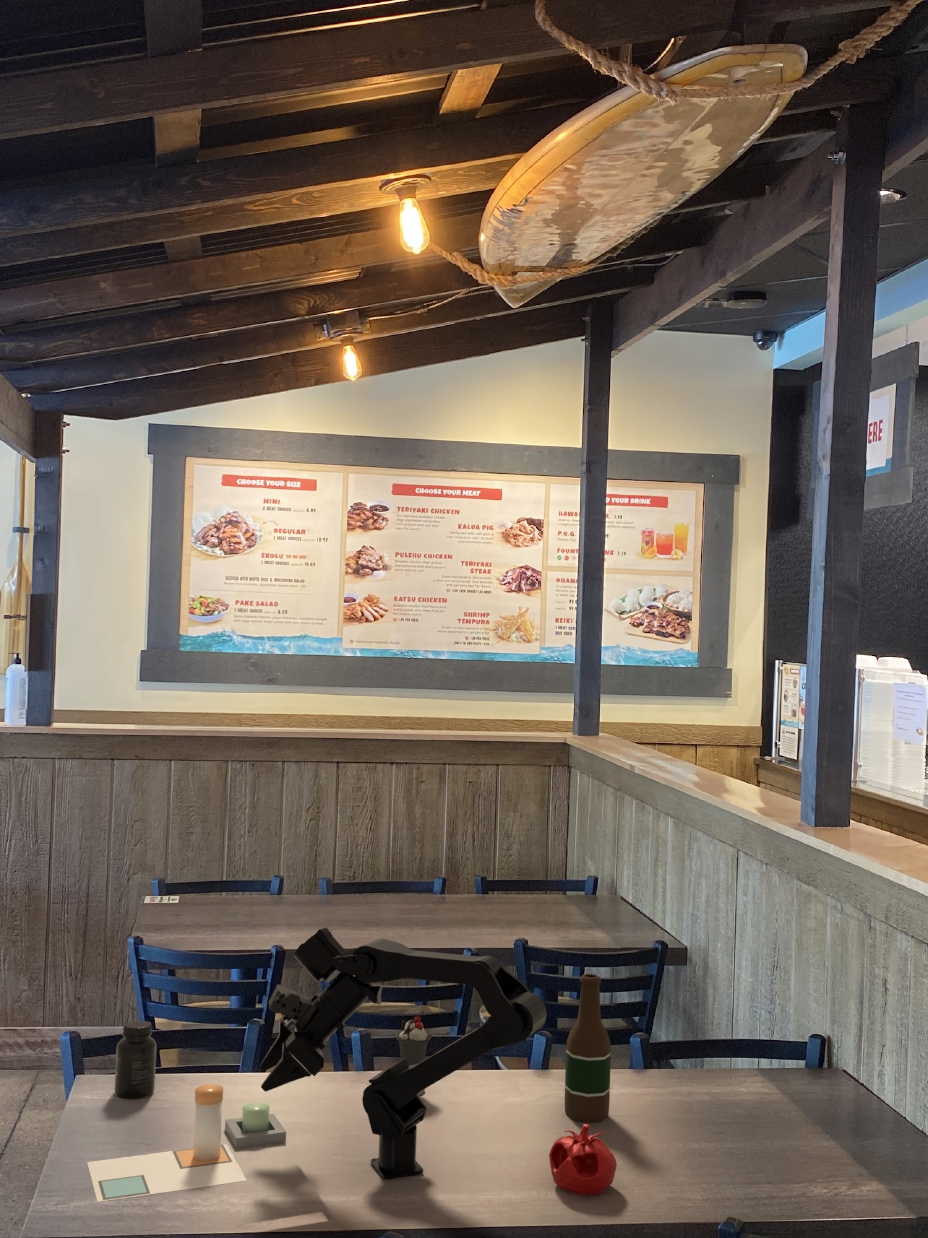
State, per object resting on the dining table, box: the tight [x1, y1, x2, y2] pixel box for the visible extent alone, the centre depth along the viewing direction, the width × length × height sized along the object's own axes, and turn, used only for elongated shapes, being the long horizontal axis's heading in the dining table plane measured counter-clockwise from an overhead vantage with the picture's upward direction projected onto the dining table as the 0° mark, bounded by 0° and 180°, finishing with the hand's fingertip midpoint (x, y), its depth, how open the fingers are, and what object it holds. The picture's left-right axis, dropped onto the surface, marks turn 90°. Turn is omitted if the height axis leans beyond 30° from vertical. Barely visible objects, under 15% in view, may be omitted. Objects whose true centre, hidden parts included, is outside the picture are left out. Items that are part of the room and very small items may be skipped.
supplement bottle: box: [114, 1020, 157, 1100], centre depth 206 cm, size 7×7×12 cm
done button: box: [242, 1102, 270, 1134], centre depth 187 cm, size 4×4×4 cm
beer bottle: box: [564, 973, 612, 1124], centre depth 203 cm, size 8×8×24 cm
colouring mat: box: [86, 1143, 248, 1203], centre depth 172 cm, size 14×21×1 cm, turn 113°
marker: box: [193, 1083, 224, 1161], centre depth 178 cm, size 4×4×10 cm
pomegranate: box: [548, 1123, 618, 1197], centre depth 174 cm, size 10×10×9 cm
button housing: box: [224, 1113, 287, 1149], centre depth 186 cm, size 8×8×2 cm
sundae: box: [395, 1009, 433, 1097], centre depth 211 cm, size 7×7×15 cm
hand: (262, 1079), depth 180 cm, fingers open, 9 cm apart
